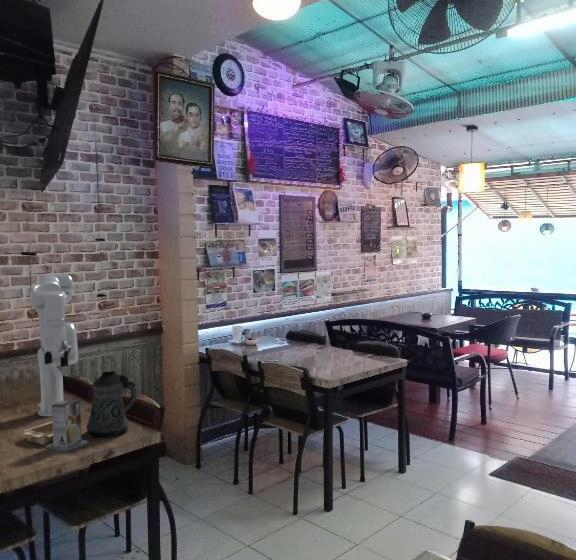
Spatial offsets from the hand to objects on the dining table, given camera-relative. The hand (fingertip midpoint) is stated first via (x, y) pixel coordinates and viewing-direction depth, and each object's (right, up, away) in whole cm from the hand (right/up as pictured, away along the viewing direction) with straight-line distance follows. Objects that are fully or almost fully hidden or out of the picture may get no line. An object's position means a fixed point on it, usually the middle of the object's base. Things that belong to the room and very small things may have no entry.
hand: (56, 364), depth 229 cm
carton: (-1, -29, -3) cm, 29 cm away
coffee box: (+10, -29, -13) cm, 33 cm away
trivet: (+10, -29, -13) cm, 33 cm away
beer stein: (+21, -29, +4) cm, 36 cm away
